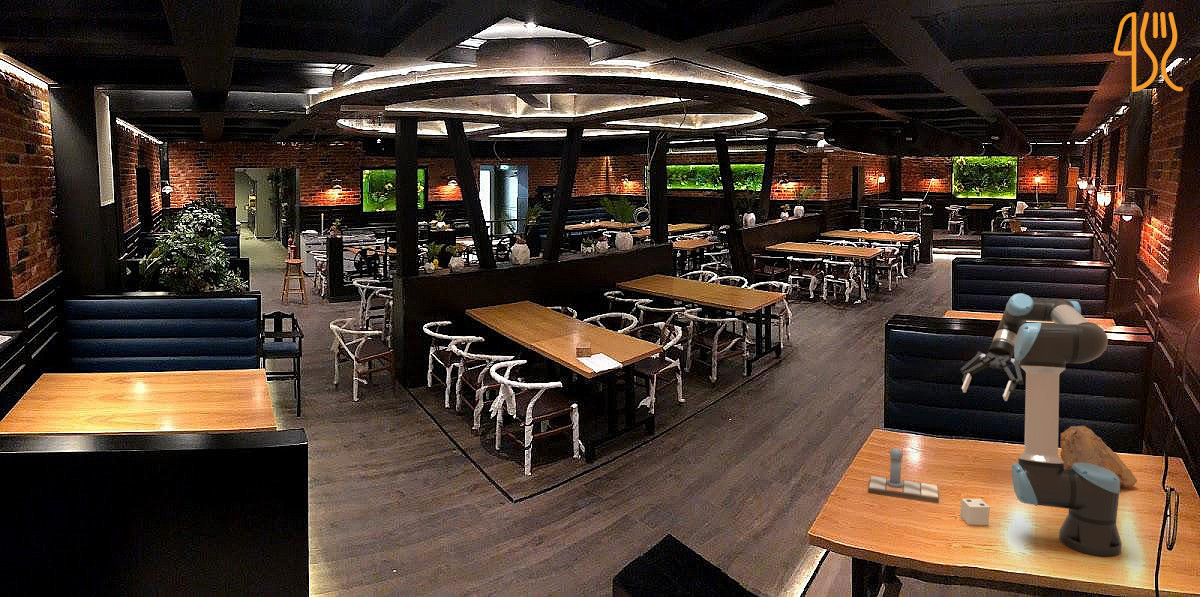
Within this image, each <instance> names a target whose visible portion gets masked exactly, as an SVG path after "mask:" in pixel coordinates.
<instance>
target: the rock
mask: <svg viewBox="0 0 1200 597" xmlns="http://www.w3.org/2000/svg"><path fill="white" fill-rule="evenodd" d="M1059 445H1060V449H1061V452H1060V454H1059V455H1060V458H1061V459H1062V460H1063V461H1064V468H1070V469H1072V466H1073V464H1074V463H1079V462H1083V463H1089V464H1094V465H1097V466H1100V467H1103V468H1105V469H1108V470H1110V471H1112V472H1113V473H1115V474H1116V475H1117V476H1118V478H1119V480H1120V488H1121V487H1124V488H1125V487H1132V486H1134V485H1135V484H1136V483H1138V480H1137V478H1136V477H1135V475H1134V474H1133V472H1132V470H1130V468H1129V467H1127V465H1126V464H1125V462H1124V461H1123V460H1122V459H1121V458H1120V456H1119V455H1118V454H1117V452H1114V451H1113V450H1112V449H1111V447H1109V446H1107V444H1106V443H1105V442H1104V441H1103V440H1102V438H1101V437H1100V436H1098V435H1097V434H1095V432H1094V431H1093V430H1092V429H1091V428H1089V427H1087V426H1086V425H1078V426H1076V425H1075V426H1074V425H1073V426H1069V428H1066V429H1065V430H1064V431H1063V432H1061V433H1060V444H1059Z"/></svg>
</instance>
